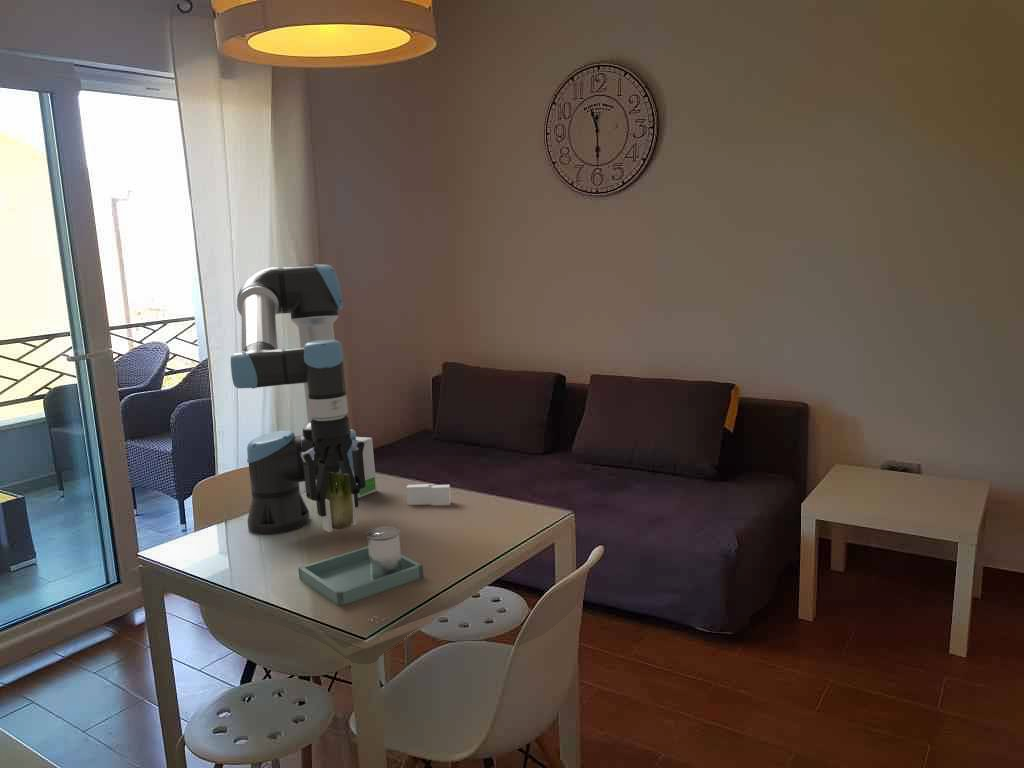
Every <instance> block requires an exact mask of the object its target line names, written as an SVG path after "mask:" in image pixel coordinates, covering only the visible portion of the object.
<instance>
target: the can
mask: <svg viewBox="0 0 1024 768" xmlns="http://www.w3.org/2000/svg"><path fill="white" fill-rule="evenodd" d="M366 538H367V540H366V541H367V546H368V552H369V563H370V574H371V581H372V580H375V579H378V578H381V577H383V576H386V575H389V574H392V573H395V572H398V571H401V570H402V564H401V555H402V554H401V543H400V528H398V527H394V526H380V527H379V526H378V527H374V528H372V529H370V530H368V531H367V532H366Z"/></svg>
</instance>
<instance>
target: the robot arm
mask: <svg viewBox="0 0 1024 768" xmlns="http://www.w3.org/2000/svg"><path fill="white" fill-rule="evenodd" d="M342 297H343V295H342V291H341V287H340V282H339V279H338V275H337V272H336V270H335V268H334V266H332V265H330V264H323V263H322V264H320V263H319V264H317V263H313V264H303V265H302V264H301V265H300V264H298V265H289V266H288V265H287V266H271V267H268V268H263V269H262V270H259V271H258V272H256V273H255V274H253V275H252V276H250V277H249V278H248V279H246V281H245V282H244V283H243V285H242V286H241V287H240V289H239V292H238V294H237V298H236V299H237V300H236V308H237V311H238V313H239V314H240V316H241V351H240V352H235V353H232V354H231V356H230V371H231V378H232V379H231V380H232V384H233V386H234V387H235V388H237V389H253V390H254V389H257V388H265V387H275V386H284V385H296V384H297V385H298V384H303V385H304V395H305V397H304V398H305V408H306V414H307V415H306V416H307V421H306V422H305V424H304V425H303V427H302V434H301V435H296V434H295V433H294V431H293V430H290V429H289V430H288V429H287V430H277V431H272V432H268V433H264V434H262V435H260V436H257V437H255V438H253V439H252V440H250V441H249V443H248V444H247V447H246V450H247V451H246V453H247V460H246V462H247V464H248V471H249V479H250V487H251V488H250V491H251V504H250V507H249V512H248V515H247V529H248V531H249V532H250V533H253V534H257V535H277V534H285V533H288V532H289V533H290V532H293V531H296V530H299V529H300V528H304V527H305V526H306V525H308V524H309V523H310V521H311V519H310V517H311V516H310V511H309V509H308V508H309V507H307V505H306V502H305V500H304V498H303V495H302V494H301V491H300V483H303V482H304V484H305V486H304V487H305V494H306V498H307V499H309V500H311V501H312V502H313V501H314V502H316V510H317V512H316V513H317V515H318V516H319V517H321V521H322V530H324V531H326V532H328V533H330V532H333V528H332V522H331V511H330V501H329V500H327V499H326V492H327V485H328V477H329V472H334V475H335V479H336V473H342V476H343V475H344V474H349V475H350V490H351V497H352V503H353V518H352V522H351V526H356V525H357V523H358V522H357V514H356V509H357V508H358V507H359V498H358V495H357V494H359V492H360V489H361V488H365V485H366V484H365V474H364V463H363V449H364V442H361V441H358V440H356V437H357V435H356V434H357V432H356V430H354V429H352V428H350V420H349V419H350V417H348V415H347V414H348V413H349V411H348V410H349V409H348V408H349V407H348V398H347V391H346V380H345V379H346V378H345V376H346V375H345V367H344V365H345V363H344V359H345V356H344V352H343V347H342V346H343V345H342V343H341V342H340V340H337V339H335V331H334V323H335V322H336V321H337V319H338V318H339V311H341V310H343V308H344V301H343V298H342ZM280 314H290V319H291V322H292V323H294V324H295V325H296V326H297V328H298V335H299V336H298V337H299V345H300V346H299V347H293V348H292V347H291V348H281V349H279V348H278V336H277V320H276V315H280ZM353 471H354V476H353Z"/></svg>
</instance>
